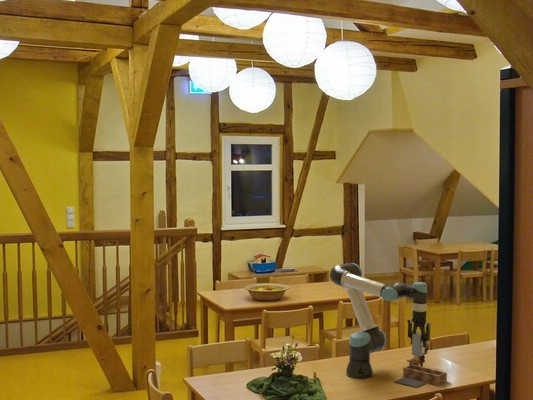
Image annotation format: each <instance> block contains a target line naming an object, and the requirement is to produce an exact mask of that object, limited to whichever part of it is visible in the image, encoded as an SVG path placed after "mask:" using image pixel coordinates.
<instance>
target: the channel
mask: <svg viewBox="0 0 533 400" xmlns="http://www.w3.org/2000/svg"><path fill="white" fill-rule="evenodd" d="M402 376H403V377H406V378H410V379H413V380H417V381H421V382H425V383H428V384H433V385H436V386H441V385H443V384H444V383H446V382H448V379H447V378H448V373H447V372H446V371H441V370H437V369H433V368H429V367H425V366H423V367H421V366H420V365H419V366H417V365H413V364H411V365H409V364H408V365H407V366H404V367H403V368H402Z"/></svg>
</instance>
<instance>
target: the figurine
mask: <svg viewBox="0 0 533 400" xmlns="http://www.w3.org/2000/svg"><path fill="white" fill-rule="evenodd" d="M429 349H430V345H428V344H427V343H426V347H425V352H424V355H422V356H415V355H413V357H411V358H410V359H406V362H408V366H409V365H411V364H413V365H417V366H421V367H424V363H425V362H426V360H425V358H426V356H425V355H427V354H428V350H429Z"/></svg>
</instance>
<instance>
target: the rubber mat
mask: <svg viewBox="0 0 533 400" xmlns="http://www.w3.org/2000/svg"><path fill="white" fill-rule="evenodd" d="M393 382H394V383H396V384H400V385H402V386H403V385H404V386H407V387H410V388H413V389H414V388H415V389H417V388H419V387H422V386H425V385H427V382H424V381H420V380H416V379H412V378H408V377H404V376H403V377H401V378H399V379H397V380H394V381H393Z"/></svg>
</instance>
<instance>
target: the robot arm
mask: <svg viewBox="0 0 533 400" xmlns="http://www.w3.org/2000/svg"><path fill="white" fill-rule="evenodd" d="M362 276H363V271H362V268H361V267H360V265H358V264H357V263H355V262H346V263H342V264H337V265H334V266H333V267H331V269H330V271H329V278H330V281H331V282H332V283H333V284H334V285H337V286H339V287H342V288H343V289H344V290H346V291H347V294H348V297H349V300H350V303H351V306H352V308H353V311H354V313H355V317H356V320H357V322H358V324H359V327H360V330H359V331H355V332H353V333H351V334H350V336H349V341H348V343H349V353H348V354H349V359H348V360H349V361H348V364H347V367H346V371H345V374H346V376H348V377H350V378H354V379H369V378H371V377H373V376H374V371H373V368H372V365H371V354H373V353H376V352H380V351H381V350H383V349H384V348H385V346H386V345H387V336H386V333H385V332H384V331H383V330H381V329H380V328H379V325H378V324H375V321H374V318H373V316H372V314H371V311H370V308H369V305H368V303H367V299H366V297H365V294H364V293H367V294H370V295H373V296H377V297H379V298H382V300H384V301H385V302H394V301H396V300H400V299H403V298H407V299H412V313H411V314H412V315H411V316H412V318H411V319H410V318H409V319H407V338H409V339H410V345H411V346H412V336H413V333H415V332H418V331H417V330H418V328H419V330H420V333H421V334H422V339H423V341H421V353H424V352H425V347H426V344H427V342H428V341H430V340H431V326H432V323H431V322H428V321H427V310H428V309H427V307H428V306H427V305H428V299H427V298H428V284H427V283H426V282H423V281H415V282H413V284H408V283H403V282H396V283H394V285H393V286H392V285H389V284H386V283H383V282H379V281H376V280H372V279H369V278H366V277H362Z"/></svg>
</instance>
